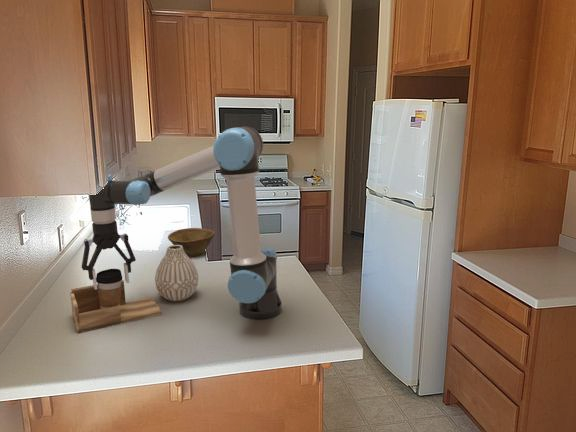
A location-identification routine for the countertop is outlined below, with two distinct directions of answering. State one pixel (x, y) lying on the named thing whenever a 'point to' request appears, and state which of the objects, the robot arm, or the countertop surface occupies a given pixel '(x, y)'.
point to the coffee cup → (109, 287)
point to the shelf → (107, 309)
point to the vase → (176, 275)
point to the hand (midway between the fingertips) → (111, 284)
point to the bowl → (192, 240)
